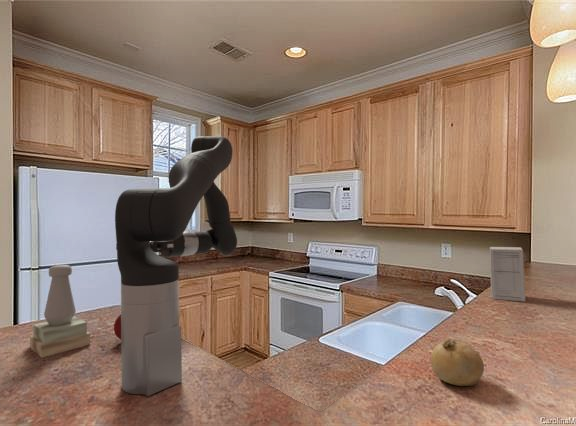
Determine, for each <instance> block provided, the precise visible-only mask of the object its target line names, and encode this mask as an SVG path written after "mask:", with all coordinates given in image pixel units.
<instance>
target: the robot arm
mask: <svg viewBox="0 0 576 426" xmlns="http://www.w3.org/2000/svg"><path fill="white" fill-rule="evenodd" d="M190 150H191V151H190V153H188V154H186V155H184V156H182V158H180V159H179V160H177V162H175V163H174V164H173V166H172V167H171V168H170V170H169V173H168V176H167V177H168V184H169V187H165V188H164V187H163V188H160V187H159V188H158V187H157V188H133V189H132V188H130V189H126V190H124V191H123V192H122V193H120V195H119V196H118V198H117V201H116V204H115V205H116V206H115V211H114V212H115V213H114V225H115V228H114V229H115V240H116V241H115V242H116V245H115V247H116V259H117V267H118V270H119V274H120V314H121V339H120V346H121V347H120V350H121V351H120V353H121V354H120V355H121V356H120V358H121V361H120V362H121V389H122V391H124V392H125V393H128V394H133V395H144V396H146V397H149V396H152V395H154V394H156V393H158V392H161V391H163V390H165V389H167V388H170V387H173V386H174V385H175V386H176V385H177V384H179V383H181V382H182V381H183V377H182V376H183V373H182V371H183V369H182V367H183V365H182V358H183V357H182V326H181V325H180V308H179V307H180V306H179V305H180V298H179V297H180V295H179V294H180V292H179V291H180V290H179V288H180V287H179V286H180V285H179V283H180V282H179V281H180V280H179V276H180V275H179V274H180V273H179V272H180V271H179V266H178V263H177V262H175V261H173V260H171V259H168V258H176V257H187V256H191V255H201V254H206V253H208V252H210V250H212V248H213V249H214V250H216V251H217V252H218V253H220V254H221V255H224V256H225V255H226V256H229V255H232V254H233V253H234V252H235V251H236V248H237V247H238V237H237V234H236V231H235V228H234V225H233V224H232V221H231V213H230V206H229V202H228V199H227V198H226V196H225V194H224V193H223V192H222V191H221V189H220V188H219V187H218V185H216V183H215V180H216V179H217V178H218V176H219V175H220V174H222V172H224V171H225V170H226V169H227V168H228V167H229V166H230V164H231V162H232V159H233V146H232V143H231V141H230V140H229V138H227V137H225V136H221V135H220V136H219V135H216V136H213V135H211V136H209V135H208V136H205V135H204V136H196V137H194V138H193V139H192V142H191V149H190ZM202 198H204V199H203V200H204V203H205V206H206V207H205V208H206V215H207V220H208V224H209V227H210V228H209V229H206V230H204V231H186V229H187V227H188V225H189V224H190V220H191V219H192V217H193V215H194V212H195V210H196V208H197V206H198V204H199V203H200V201H201V199H202ZM157 253H160V254H161V255H159V254H157Z"/></svg>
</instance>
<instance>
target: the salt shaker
mask: <svg viewBox="0 0 576 426" xmlns="http://www.w3.org/2000/svg"><path fill="white" fill-rule="evenodd" d="M72 271H73V268H72V266H70V265H68V264H58V265H57V264H56V265H52V266H51V267H49V268H48V277H51V280H50V285H49V290H48V294H47V295H48V296H47V300H46V305H45V309H44V313H43V315H44V319H46V322H48V324H49V325H50V326H62V325H65V324H69V323H70V322H71V320H72V318H73V316H75V314H76V306H75V301H74V295H73V294H72V293H73V291H72V288H71V283H70V277H69V276H70V275H72V274H73V272H72Z"/></svg>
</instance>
